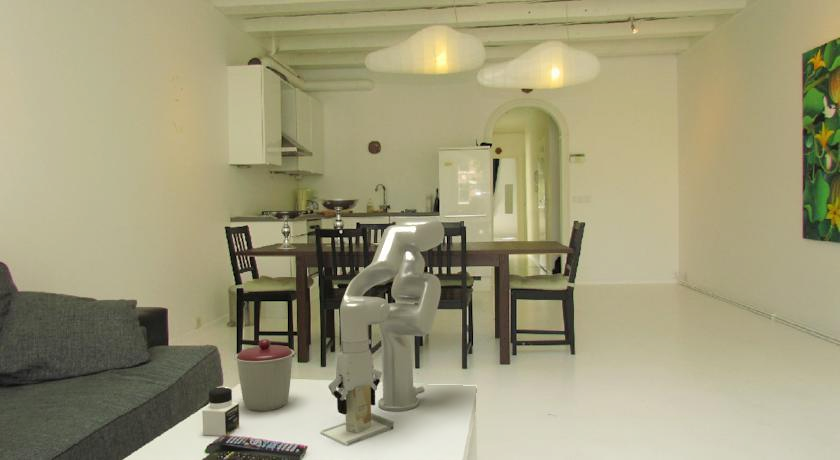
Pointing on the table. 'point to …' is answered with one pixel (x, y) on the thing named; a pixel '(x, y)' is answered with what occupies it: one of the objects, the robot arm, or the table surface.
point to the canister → (265, 375)
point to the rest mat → (350, 437)
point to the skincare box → (358, 409)
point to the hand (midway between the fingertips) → (356, 408)
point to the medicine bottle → (220, 413)
